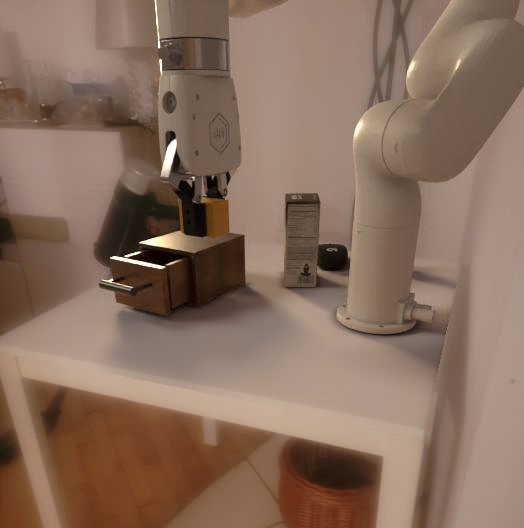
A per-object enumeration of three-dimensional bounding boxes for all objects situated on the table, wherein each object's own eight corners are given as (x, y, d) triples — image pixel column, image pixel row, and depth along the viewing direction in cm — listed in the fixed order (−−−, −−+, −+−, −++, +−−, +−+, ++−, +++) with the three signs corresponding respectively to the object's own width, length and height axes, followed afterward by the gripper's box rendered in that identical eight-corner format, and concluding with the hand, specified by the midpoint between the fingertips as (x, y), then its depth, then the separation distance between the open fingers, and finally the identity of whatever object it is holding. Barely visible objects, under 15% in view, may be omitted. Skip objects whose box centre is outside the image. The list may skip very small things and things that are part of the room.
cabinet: (197, 307, 84) (194, 252, 80) (144, 294, 90) (138, 242, 86) (245, 284, 95) (244, 234, 91) (195, 273, 101) (192, 226, 97)
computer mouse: (314, 271, 102) (315, 252, 101) (311, 255, 113) (311, 238, 111) (350, 271, 102) (352, 252, 100) (343, 255, 113) (345, 238, 111)
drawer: (144, 325, 75) (138, 277, 71) (94, 311, 80) (86, 265, 77) (216, 291, 89) (214, 249, 85) (169, 281, 94) (165, 240, 91)
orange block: (229, 232, 61) (228, 199, 59) (214, 238, 59) (212, 203, 57) (196, 228, 64) (194, 196, 62) (180, 233, 61) (178, 200, 59)
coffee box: (283, 273, 101) (284, 192, 94) (314, 273, 101) (317, 192, 94) (283, 287, 93) (285, 200, 86) (317, 287, 93) (322, 200, 86)
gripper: (172, 54, 45) (187, 251, 53) (264, 65, 57) (264, 223, 66) (113, 58, 48) (136, 243, 57) (212, 68, 61) (219, 217, 69)
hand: (205, 230), depth 61 cm, fingers closed on orange block, 3 cm apart
